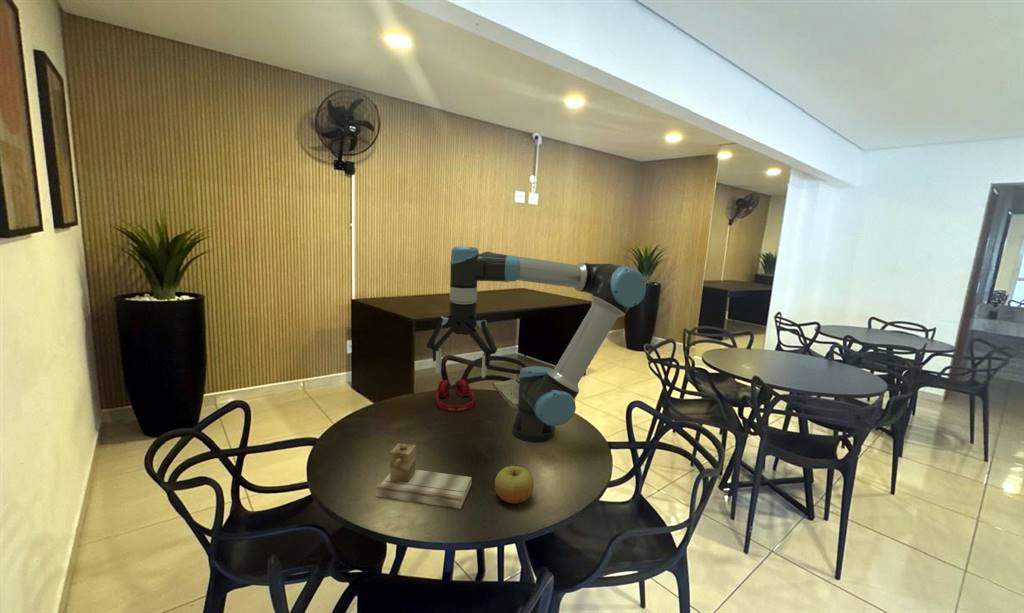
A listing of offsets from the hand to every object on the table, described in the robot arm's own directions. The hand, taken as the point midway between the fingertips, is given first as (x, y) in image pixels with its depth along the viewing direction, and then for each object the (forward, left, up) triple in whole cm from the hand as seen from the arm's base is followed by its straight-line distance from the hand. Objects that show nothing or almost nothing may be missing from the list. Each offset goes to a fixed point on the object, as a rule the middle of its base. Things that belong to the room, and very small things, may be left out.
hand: (460, 374), depth 126 cm
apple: (-19, +15, -27) cm, 36 cm away
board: (+4, +17, -27) cm, 32 cm away
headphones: (+14, -42, -27) cm, 52 cm away
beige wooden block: (+11, +17, -25) cm, 32 cm away
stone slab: (-10, -54, -27) cm, 61 cm away
